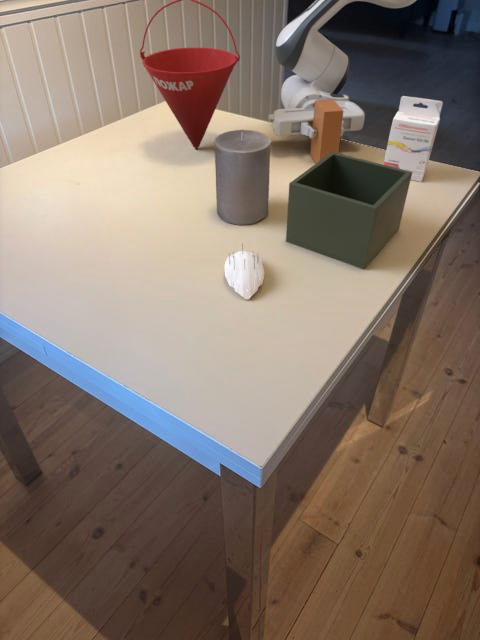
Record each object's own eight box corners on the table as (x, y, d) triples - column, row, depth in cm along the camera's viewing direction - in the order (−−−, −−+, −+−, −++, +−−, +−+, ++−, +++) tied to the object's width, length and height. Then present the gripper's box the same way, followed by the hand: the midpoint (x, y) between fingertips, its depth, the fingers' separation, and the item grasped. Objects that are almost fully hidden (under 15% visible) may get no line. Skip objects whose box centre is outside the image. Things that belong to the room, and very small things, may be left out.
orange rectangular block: (327, 154, 111) (333, 99, 103) (336, 167, 106) (343, 110, 98) (310, 155, 110) (314, 100, 102) (318, 169, 105) (324, 111, 97)
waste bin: (325, 206, 93) (331, 151, 86) (398, 229, 86) (412, 171, 79) (285, 241, 84) (289, 183, 77) (364, 269, 78) (376, 208, 70)
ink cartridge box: (380, 175, 103) (394, 102, 93) (385, 165, 106) (399, 94, 96) (422, 182, 100) (441, 108, 90) (426, 172, 103) (445, 100, 93)
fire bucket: (137, 162, 109) (112, 4, 89) (167, 130, 123) (151, -13, 103) (231, 171, 105) (227, 7, 85) (250, 136, 119) (251, -11, 99)
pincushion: (223, 256, 81) (222, 226, 77) (259, 254, 81) (260, 224, 77) (226, 302, 72) (225, 270, 68) (267, 299, 72) (268, 268, 68)
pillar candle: (215, 201, 95) (211, 123, 85) (265, 198, 96) (267, 120, 86) (218, 227, 88) (215, 145, 78) (272, 224, 88) (275, 142, 78)
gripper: (266, 100, 110) (279, 122, 100) (353, 94, 112) (375, 115, 102) (266, 128, 114) (278, 152, 104) (350, 122, 116) (370, 145, 106)
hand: (327, 133), depth 103 cm, fingers open, 4 cm apart
